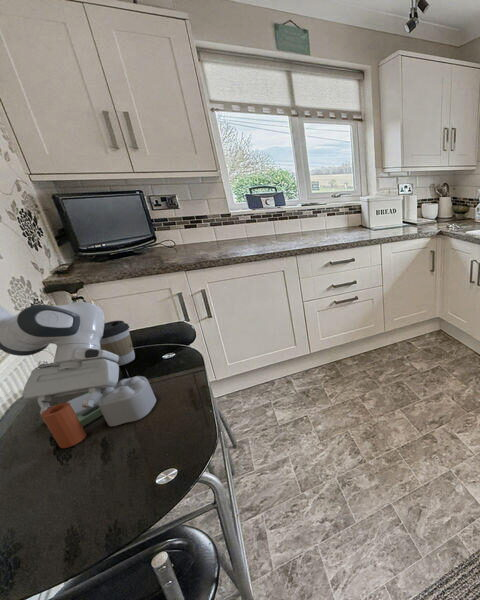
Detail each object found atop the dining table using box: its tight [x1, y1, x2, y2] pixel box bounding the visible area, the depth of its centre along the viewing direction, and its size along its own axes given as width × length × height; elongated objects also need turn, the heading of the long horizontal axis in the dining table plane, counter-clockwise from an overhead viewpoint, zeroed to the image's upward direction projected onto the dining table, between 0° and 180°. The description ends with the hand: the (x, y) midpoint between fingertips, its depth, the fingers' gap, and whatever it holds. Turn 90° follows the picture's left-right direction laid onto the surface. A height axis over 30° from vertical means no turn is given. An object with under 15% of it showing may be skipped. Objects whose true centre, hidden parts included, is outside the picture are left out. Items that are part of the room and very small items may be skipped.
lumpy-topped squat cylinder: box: [97, 375, 157, 427], centre depth 94 cm, size 10×13×9 cm
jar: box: [40, 401, 87, 449], centre depth 83 cm, size 5×5×10 cm
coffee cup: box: [100, 320, 136, 367], centre depth 121 cm, size 11×11×15 cm
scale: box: [41, 391, 103, 428], centre depth 95 cm, size 14×12×3 cm
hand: (66, 410), depth 84 cm, fingers open, 8 cm apart
